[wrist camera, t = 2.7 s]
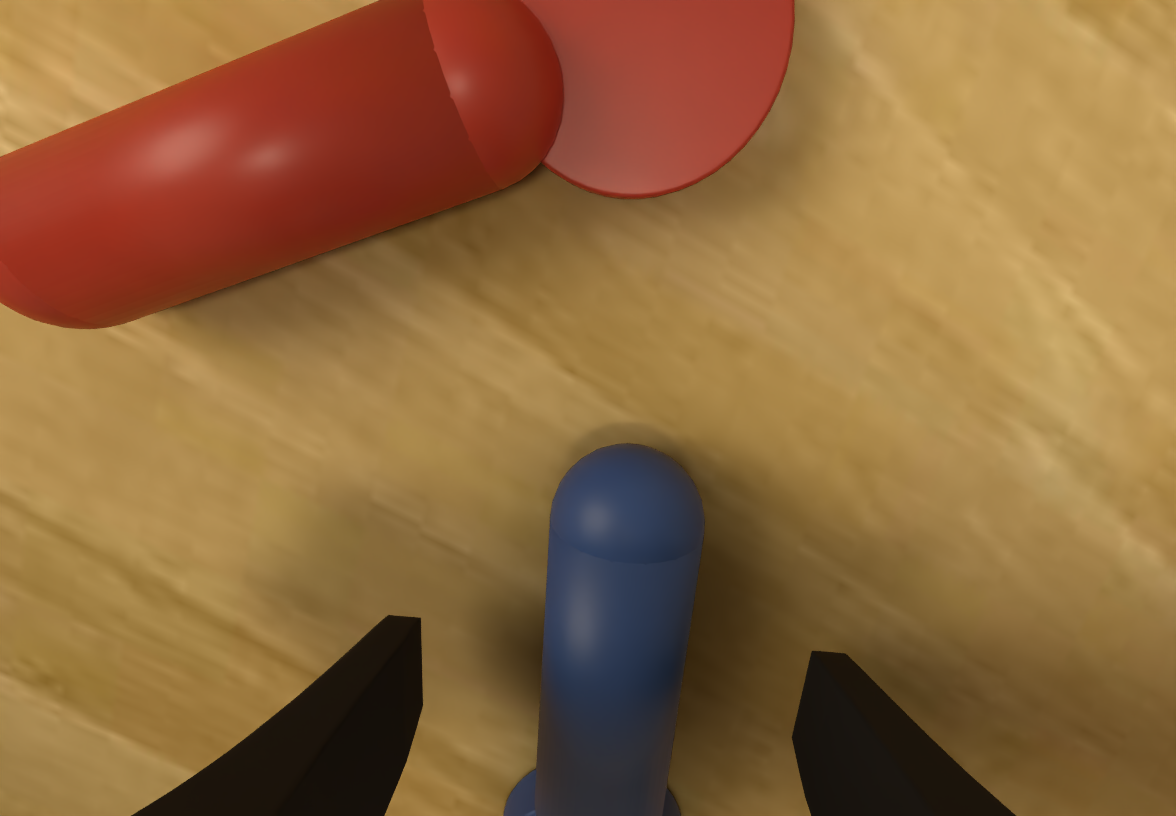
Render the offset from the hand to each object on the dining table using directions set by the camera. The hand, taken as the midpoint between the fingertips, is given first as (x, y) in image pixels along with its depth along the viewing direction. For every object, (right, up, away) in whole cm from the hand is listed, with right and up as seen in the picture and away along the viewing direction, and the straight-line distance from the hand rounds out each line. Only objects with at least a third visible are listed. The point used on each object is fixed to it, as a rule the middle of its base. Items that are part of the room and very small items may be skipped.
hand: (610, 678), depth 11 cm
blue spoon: (0, -2, +2) cm, 3 cm away
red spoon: (-3, +9, -2) cm, 10 cm away
